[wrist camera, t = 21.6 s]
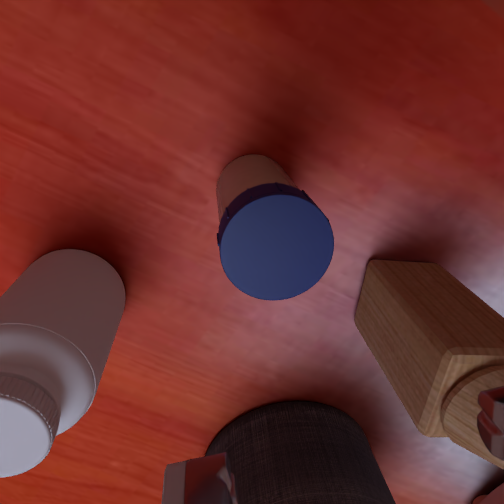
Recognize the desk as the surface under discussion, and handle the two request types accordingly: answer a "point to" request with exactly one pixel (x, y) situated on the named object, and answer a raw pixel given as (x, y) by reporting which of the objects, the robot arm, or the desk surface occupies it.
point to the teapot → (492, 497)
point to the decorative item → (433, 346)
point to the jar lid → (274, 242)
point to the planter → (301, 457)
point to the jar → (247, 178)
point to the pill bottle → (53, 350)
